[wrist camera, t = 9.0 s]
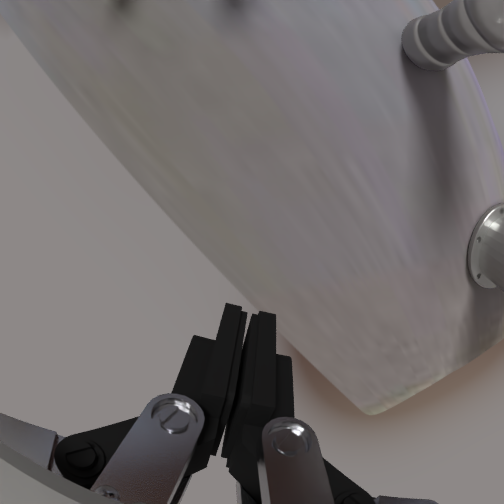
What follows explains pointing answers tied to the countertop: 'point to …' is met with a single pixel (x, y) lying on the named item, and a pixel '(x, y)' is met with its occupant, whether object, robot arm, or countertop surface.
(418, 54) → the plastic bottle
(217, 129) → the countertop surface
